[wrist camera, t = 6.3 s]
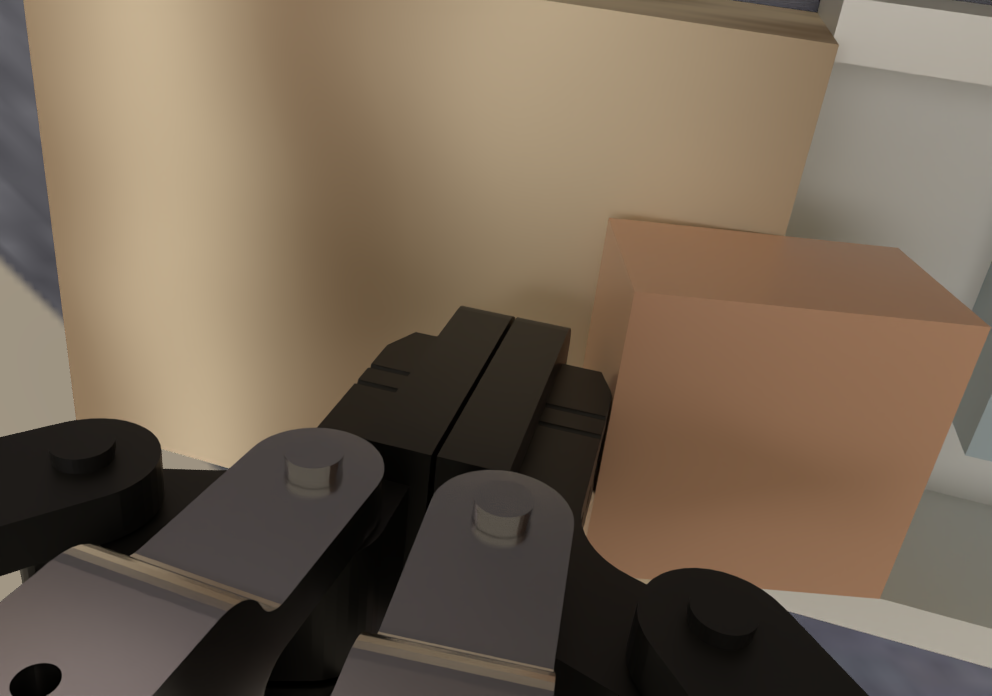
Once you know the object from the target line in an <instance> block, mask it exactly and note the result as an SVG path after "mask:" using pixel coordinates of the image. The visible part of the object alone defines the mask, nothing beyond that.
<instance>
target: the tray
mask: <svg viewBox="0 0 992 696" xmlns="http://www.w3.org/2000/svg"><path fill="white" fill-rule="evenodd" d="M817 13H818V15H819V16H820V17H821V19H822V20H823V22H824V23H825V25H826V26H827V28H828V29H829V31H830V32H831V34H832V35H833V37H834V38H835V40H836V41H837V43H838V44H839V47H838V50H837V54H836V57H835V61H834V64H833V68H832V71H831V75H830V78H829V82H828V85H827V89H826V93H825V96H824V100H823V103H822V107H821V110H820V114H819V117H818V121H817V124H816V128H815V131H814V135H813V138H812V142H811V145H810V149H809V152H808V156H807V159H806V163H805V166H804V170H803V173H802V177H801V180H800V184H799V187H798V191H797V194H796V198H795V202H794V205H793V209H792V212H791V216H790V219H789V223H788V226H787V230H786V233H785V236H789V237H799V238H809V239H818V240H828V241H837V242H847V243H857V244H866V245H876V246H886V247H895V248H899V249H900V250H901V251H902V252H903V253H905V254H906V255H907V256H908V257H909V258H910V259H912V260H913V261H914V262H915V263H916V264H918V265H919V266H920V267H921V268H922V269H923V270H925V271H926V272H927V273H928V274H929V275H930V276H932V277H933V278H934V279H935V280H936V281H937V282H939V283H940V284H941V285H942V286H943V287H944V288H946V289H947V290H948V291H949V292H950V293H951V294H953V295H954V296H955V297H956V298H957V299H959V300H960V301H961V302H962V303H963V304H964V305H966V306H967V307H968V308H969V309H970V310H971V311H972V309H973V306H974V304H975V301H976V299H977V297H978V294H979V292H980V289H981V287H982V284H983V282H984V279H985V277H986V274H987V272H988V269H989V267H990V264H991V262H992V5H985V4H977V3H970V2H963V1H956V0H821V1H820V4H819V8H818V12H817ZM762 590H764V591H765V592H766V593H768V594H769V595H770V596H772V597H773V598H774V599H775V600H776V601H778V602H779V603H780V604H781V605H782V606H783V607H784V608H785V609H786V610H787V611H789V612H793V613H797V614H800V615H804V616H807V617H811V618H814V619H818V620H822V621H825V622H829V623H832V624H836V625H839V626H843V627H847V628H850V629H854V630H857V631H861V632H864V633H868V634H872V635H875V636H879V637H882V638H886V639H889V640H893V641H897V642H900V643H904V644H907V645H911V646H914V647H918V648H922V649H925V650H929V651H932V652H936V653H939V654H943V655H947V656H950V657H954V658H957V659H961V660H964V661H968V662H972V663H975V664H979V665H982V666H986V667H989V668H992V462H991V461H987V460H983V459H979V458H974V457H970V456H966V455H965V454H964V451H963V449H962V446H961V443H960V441H959V438H958V436H957V433H956V430H955V428H954V425H953V422H952V424H951V426H950V429H949V431H948V433H947V436H946V438H945V441H944V443H943V446H942V448H941V451H940V453H939V455H938V458H937V460H936V463H935V465H934V468H933V470H932V472H931V475H930V477H929V480H928V482H927V485H926V487H925V490H924V492H923V494H922V497H921V499H920V502H919V504H918V507H917V509H916V511H915V514H914V516H913V519H912V521H911V524H910V526H909V529H908V531H907V533H906V536H905V538H904V541H903V543H902V546H901V548H900V551H899V553H898V555H897V558H896V560H895V563H894V565H893V568H892V570H891V572H890V575H889V577H888V580H887V582H886V585H885V587H884V590H883V592H882V594H881V597H880V599H875V598H863V597H851V596H839V595H827V594H816V593H804V592H792V591H780V590H769V589H762Z"/></svg>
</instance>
